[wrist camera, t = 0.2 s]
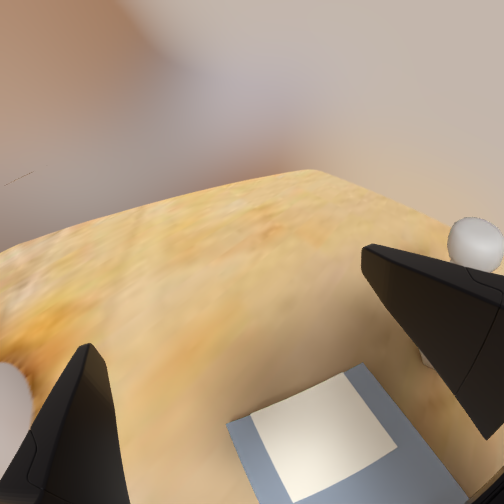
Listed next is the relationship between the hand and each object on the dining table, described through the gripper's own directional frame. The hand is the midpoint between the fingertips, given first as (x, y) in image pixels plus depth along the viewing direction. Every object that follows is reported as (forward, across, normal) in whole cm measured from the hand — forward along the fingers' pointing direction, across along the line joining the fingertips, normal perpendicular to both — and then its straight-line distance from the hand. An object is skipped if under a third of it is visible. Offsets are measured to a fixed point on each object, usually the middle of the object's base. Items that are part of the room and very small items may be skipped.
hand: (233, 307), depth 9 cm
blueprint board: (-6, -4, +17) cm, 18 cm away
